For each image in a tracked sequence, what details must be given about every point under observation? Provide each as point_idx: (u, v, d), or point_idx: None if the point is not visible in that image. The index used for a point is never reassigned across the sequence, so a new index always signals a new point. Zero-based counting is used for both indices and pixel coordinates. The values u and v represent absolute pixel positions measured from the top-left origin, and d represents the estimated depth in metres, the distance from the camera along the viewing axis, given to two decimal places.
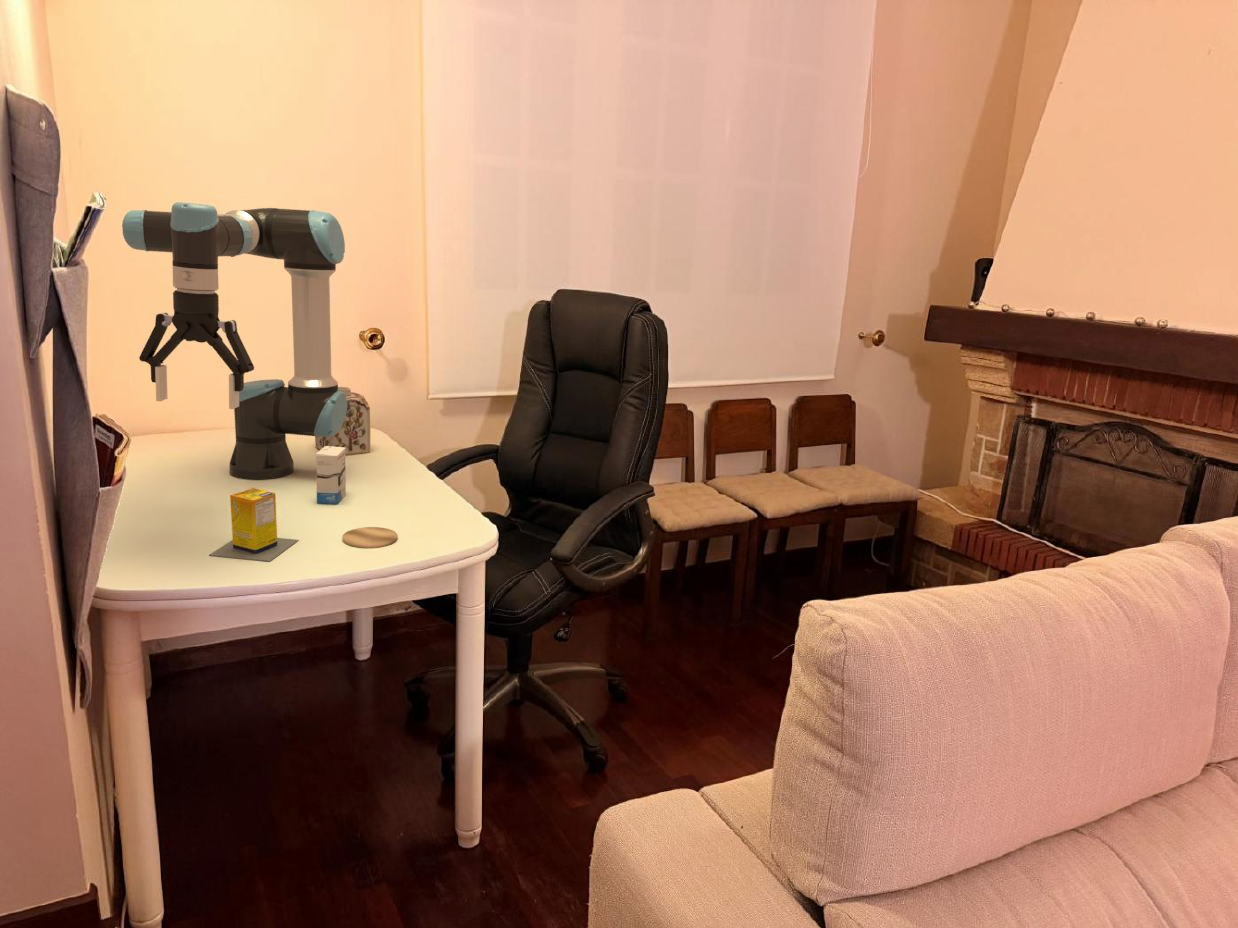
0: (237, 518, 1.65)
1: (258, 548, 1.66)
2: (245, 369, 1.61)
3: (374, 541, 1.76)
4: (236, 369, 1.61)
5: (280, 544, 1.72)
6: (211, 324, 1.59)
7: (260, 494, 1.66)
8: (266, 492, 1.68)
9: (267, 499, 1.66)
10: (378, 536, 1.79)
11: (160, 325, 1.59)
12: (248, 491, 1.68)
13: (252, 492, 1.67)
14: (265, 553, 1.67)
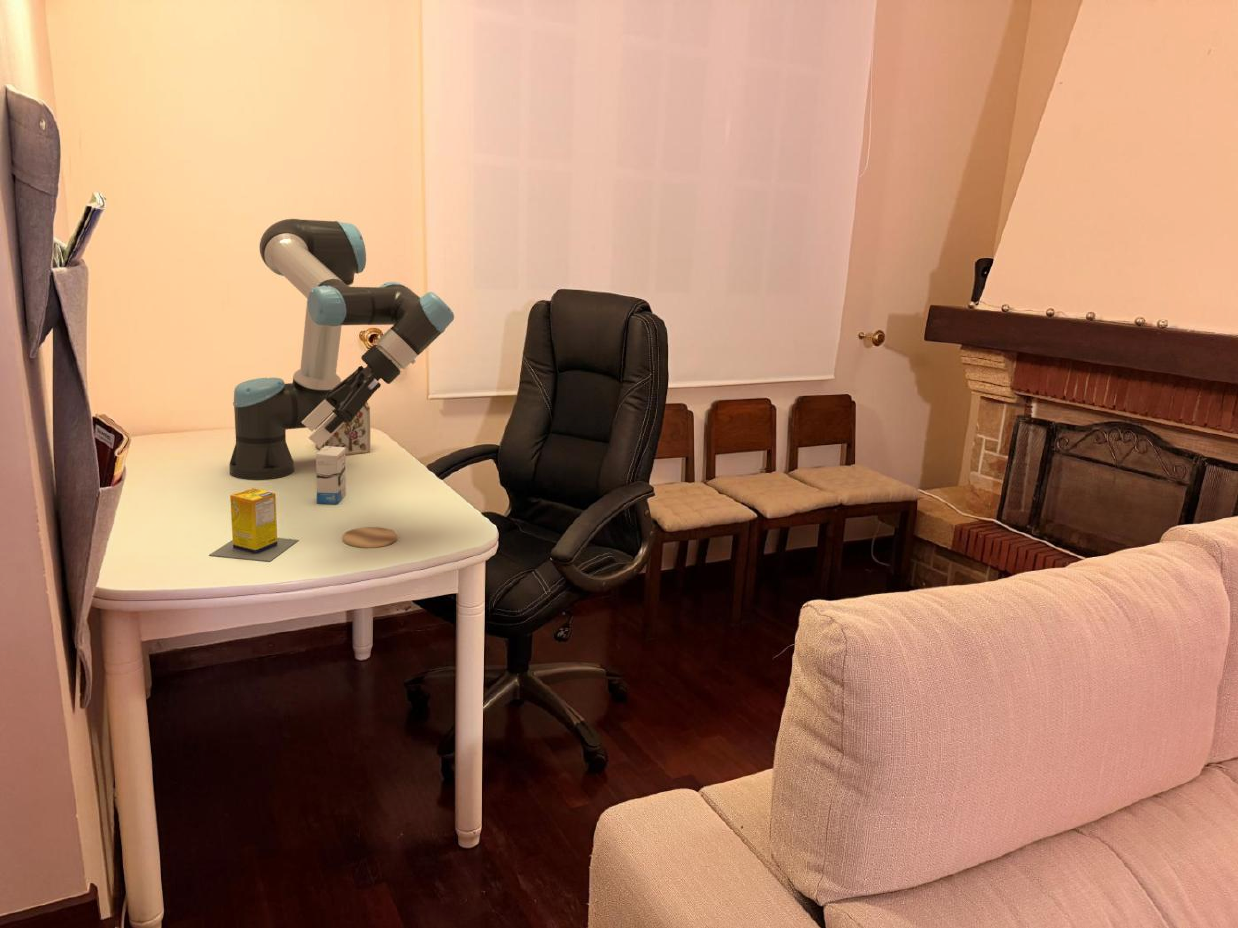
0: (237, 518, 1.65)
1: (258, 548, 1.66)
2: None
3: (374, 541, 1.76)
4: None
5: (280, 544, 1.72)
6: None
7: (260, 494, 1.66)
8: (266, 492, 1.68)
9: (267, 499, 1.66)
10: (378, 536, 1.79)
11: None
12: (248, 491, 1.68)
13: (252, 492, 1.67)
14: (265, 553, 1.67)
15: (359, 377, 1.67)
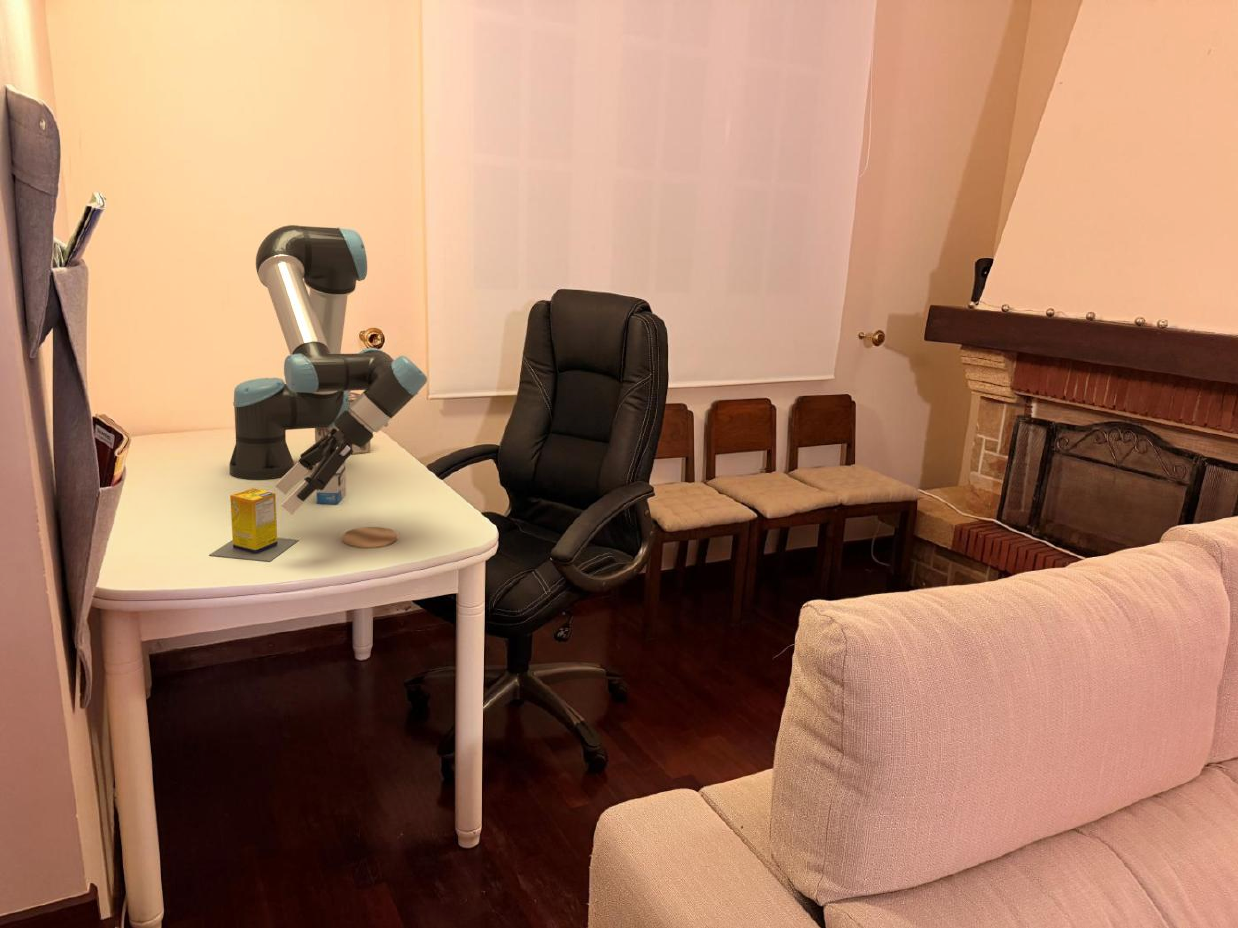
0: (237, 518, 1.65)
1: (258, 548, 1.66)
2: None
3: (374, 541, 1.76)
4: None
5: (280, 544, 1.72)
6: None
7: (260, 494, 1.66)
8: (266, 492, 1.68)
9: (267, 499, 1.66)
10: (378, 536, 1.79)
11: None
12: (248, 491, 1.68)
13: (252, 492, 1.67)
14: (265, 553, 1.67)
15: (331, 442, 1.67)
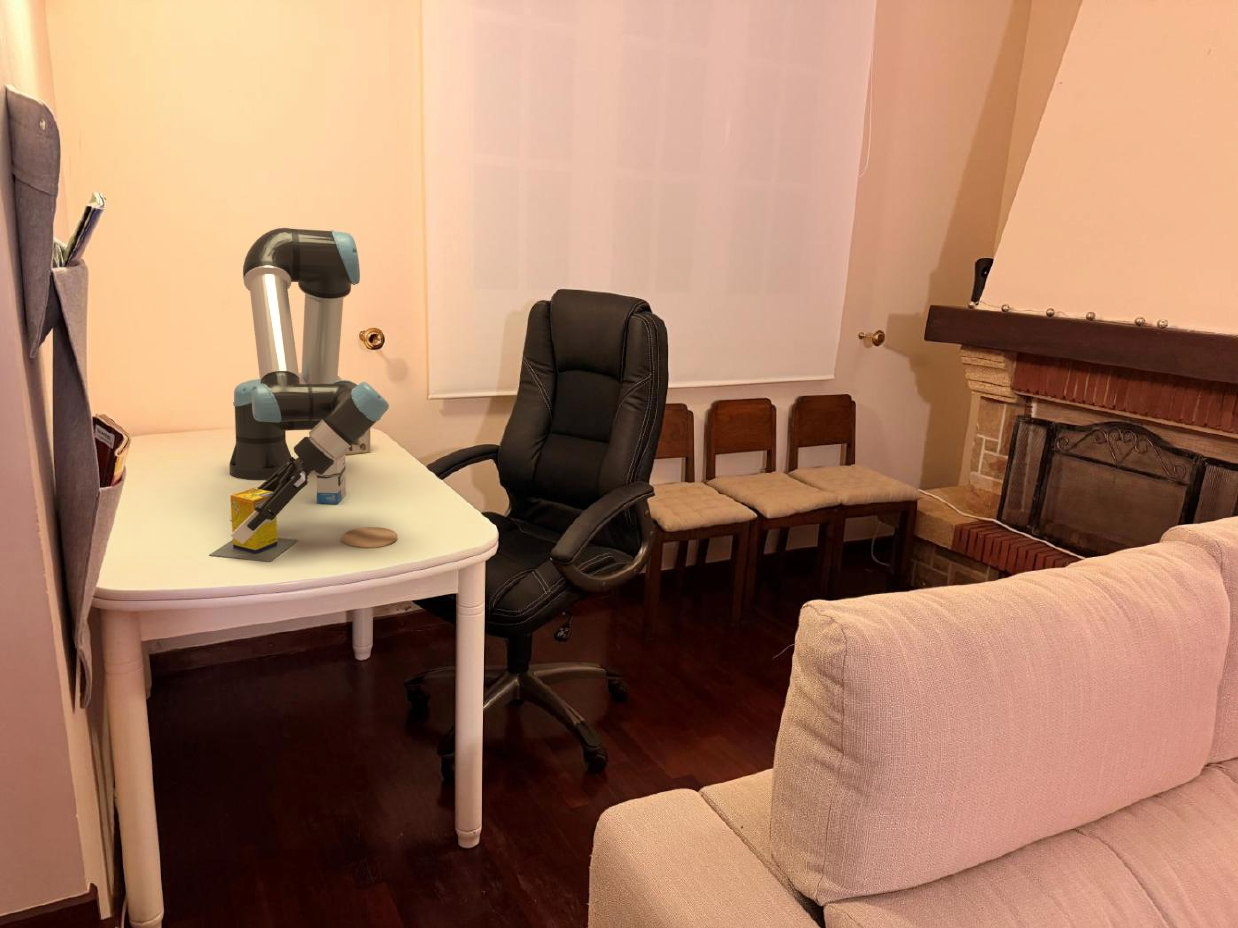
0: (237, 518, 1.65)
1: (258, 548, 1.66)
2: None
3: (374, 541, 1.76)
4: None
5: (280, 544, 1.72)
6: None
7: (260, 494, 1.66)
8: (266, 492, 1.68)
9: None
10: (378, 536, 1.79)
11: None
12: (248, 491, 1.68)
13: (252, 492, 1.67)
14: (265, 553, 1.67)
15: (289, 470, 1.66)
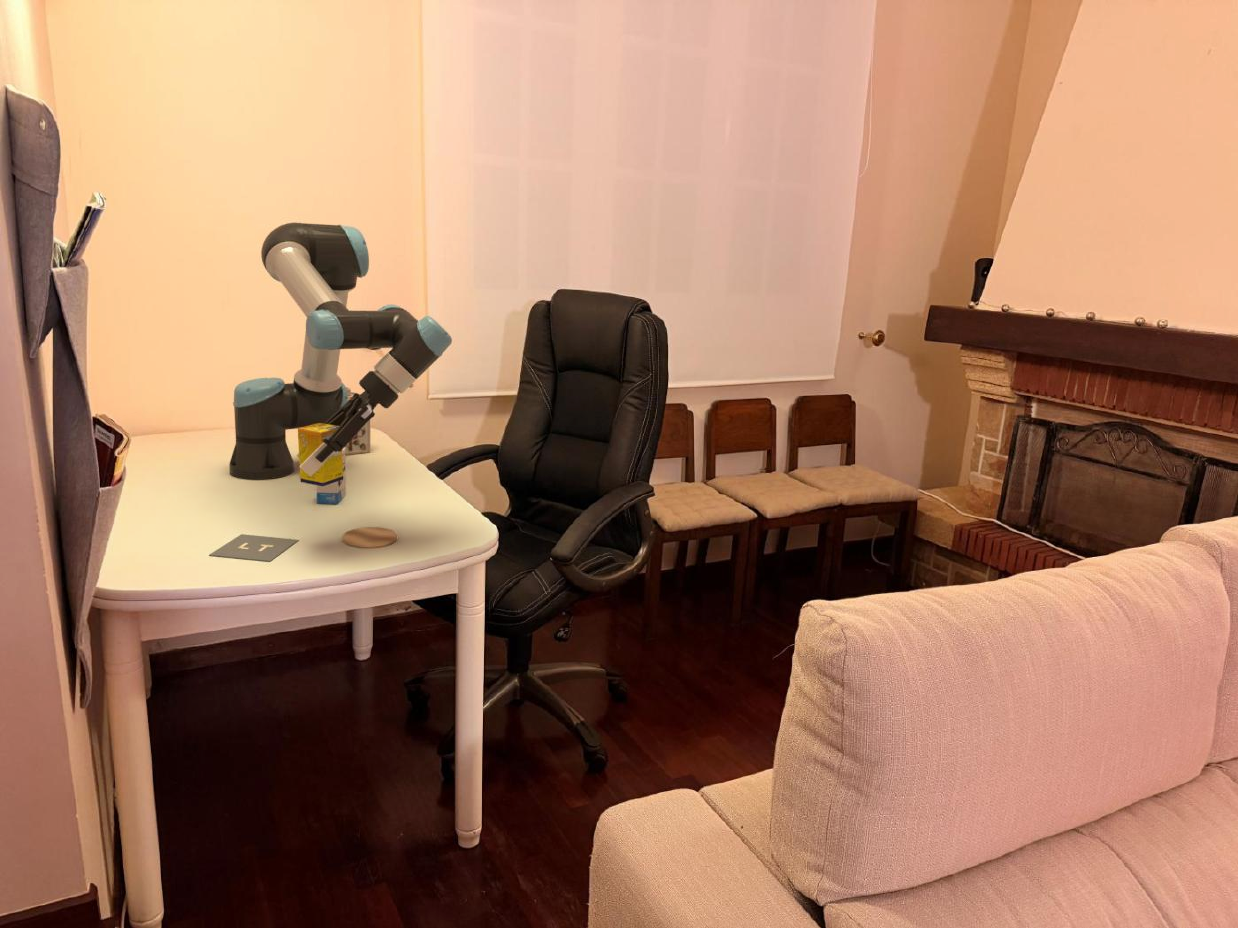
0: (305, 451, 1.66)
1: (325, 481, 1.67)
2: None
3: (374, 541, 1.76)
4: None
5: (280, 544, 1.72)
6: None
7: (327, 428, 1.67)
8: (332, 426, 1.69)
9: None
10: (378, 536, 1.79)
11: None
12: (315, 425, 1.69)
13: (318, 426, 1.68)
14: (265, 553, 1.67)
15: (356, 403, 1.67)
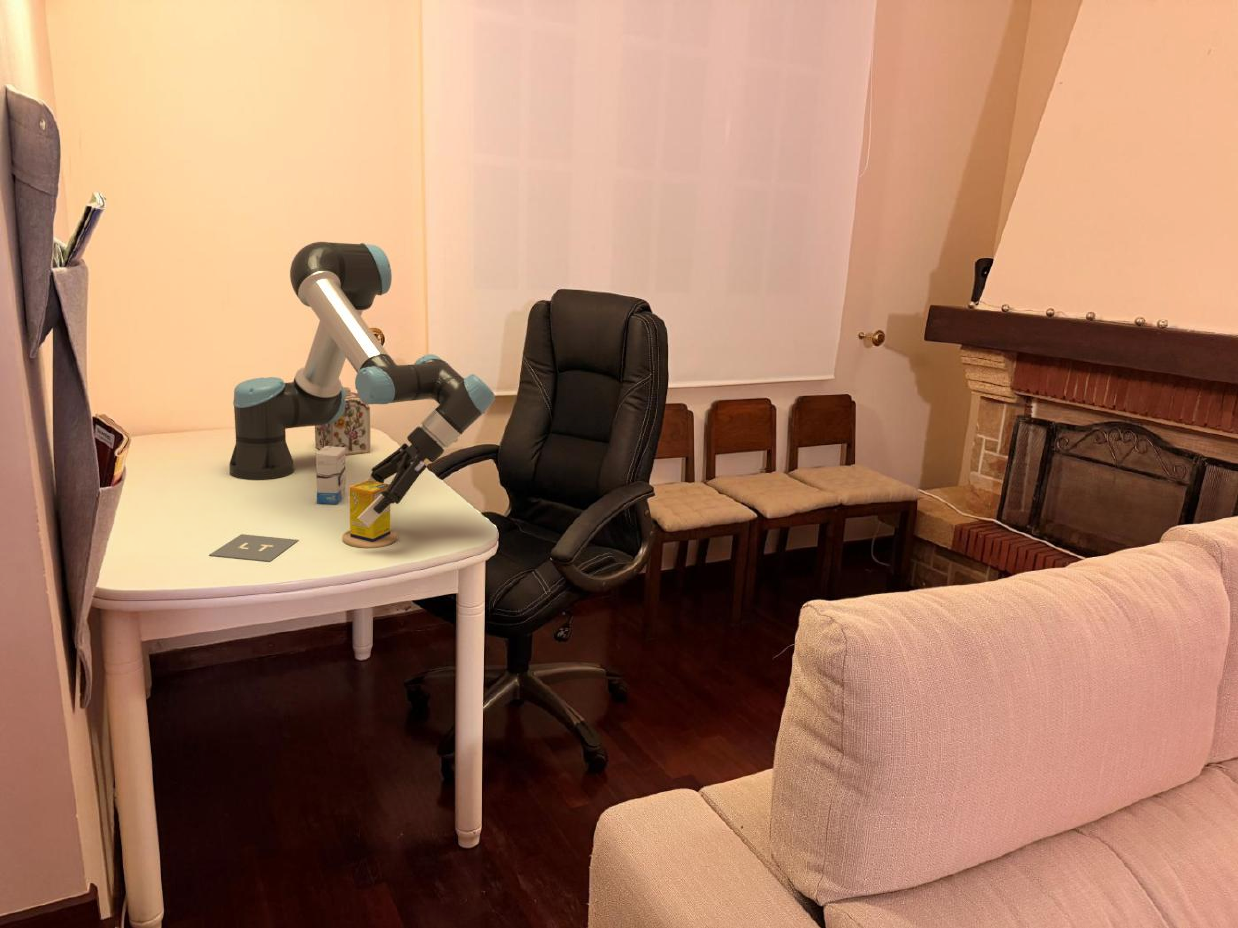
0: (356, 508, 1.75)
1: (375, 537, 1.75)
2: None
3: (374, 541, 1.76)
4: None
5: (280, 544, 1.72)
6: None
7: (377, 486, 1.75)
8: (381, 484, 1.77)
9: None
10: None
11: None
12: (365, 483, 1.77)
13: (368, 483, 1.77)
14: (265, 553, 1.67)
15: (405, 457, 1.75)
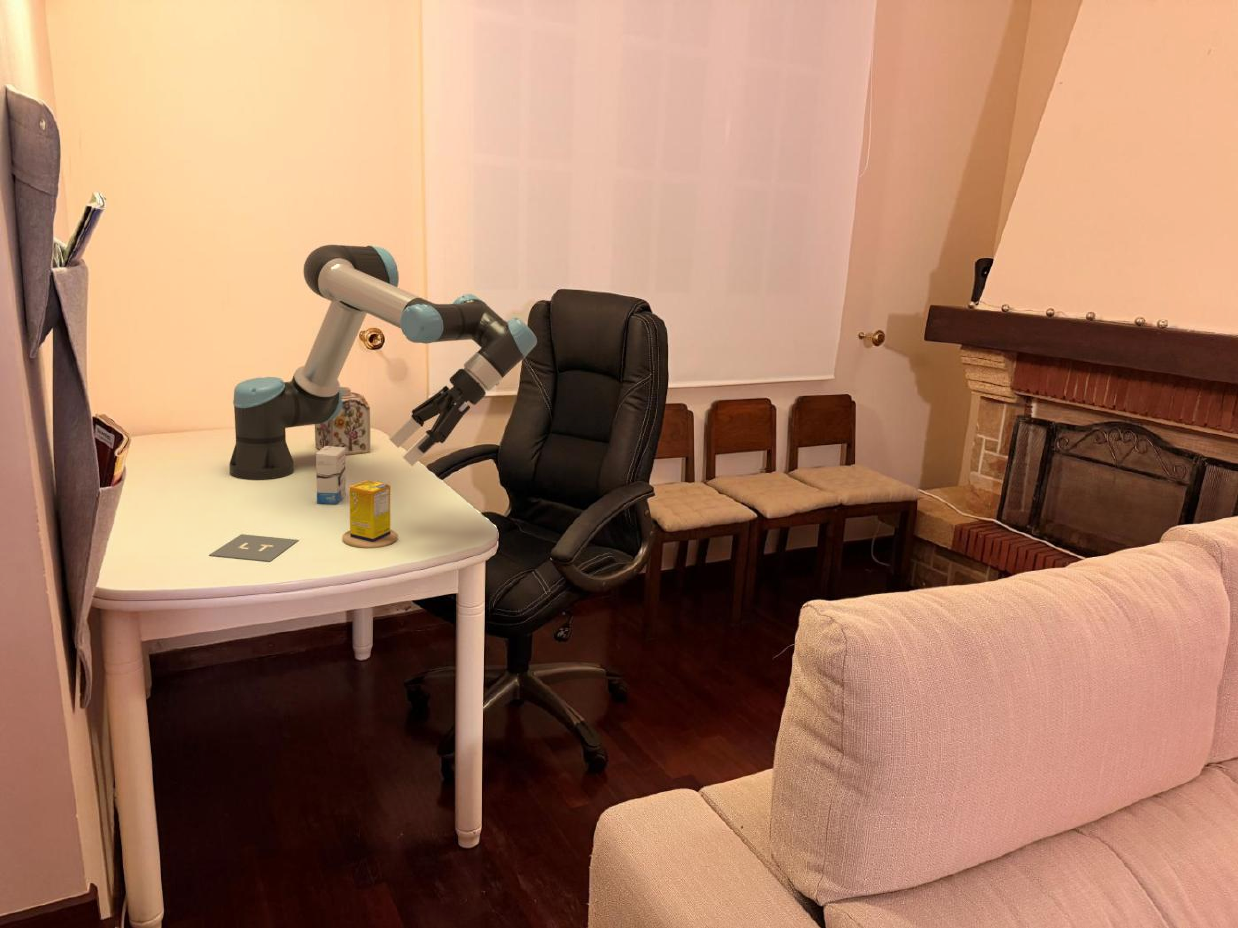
0: (356, 508, 1.75)
1: (375, 537, 1.75)
2: None
3: (374, 541, 1.76)
4: None
5: (280, 544, 1.72)
6: None
7: (377, 486, 1.75)
8: (381, 484, 1.77)
9: (384, 491, 1.76)
10: None
11: None
12: (365, 483, 1.77)
13: (368, 483, 1.77)
14: (265, 553, 1.67)
15: (448, 399, 1.75)
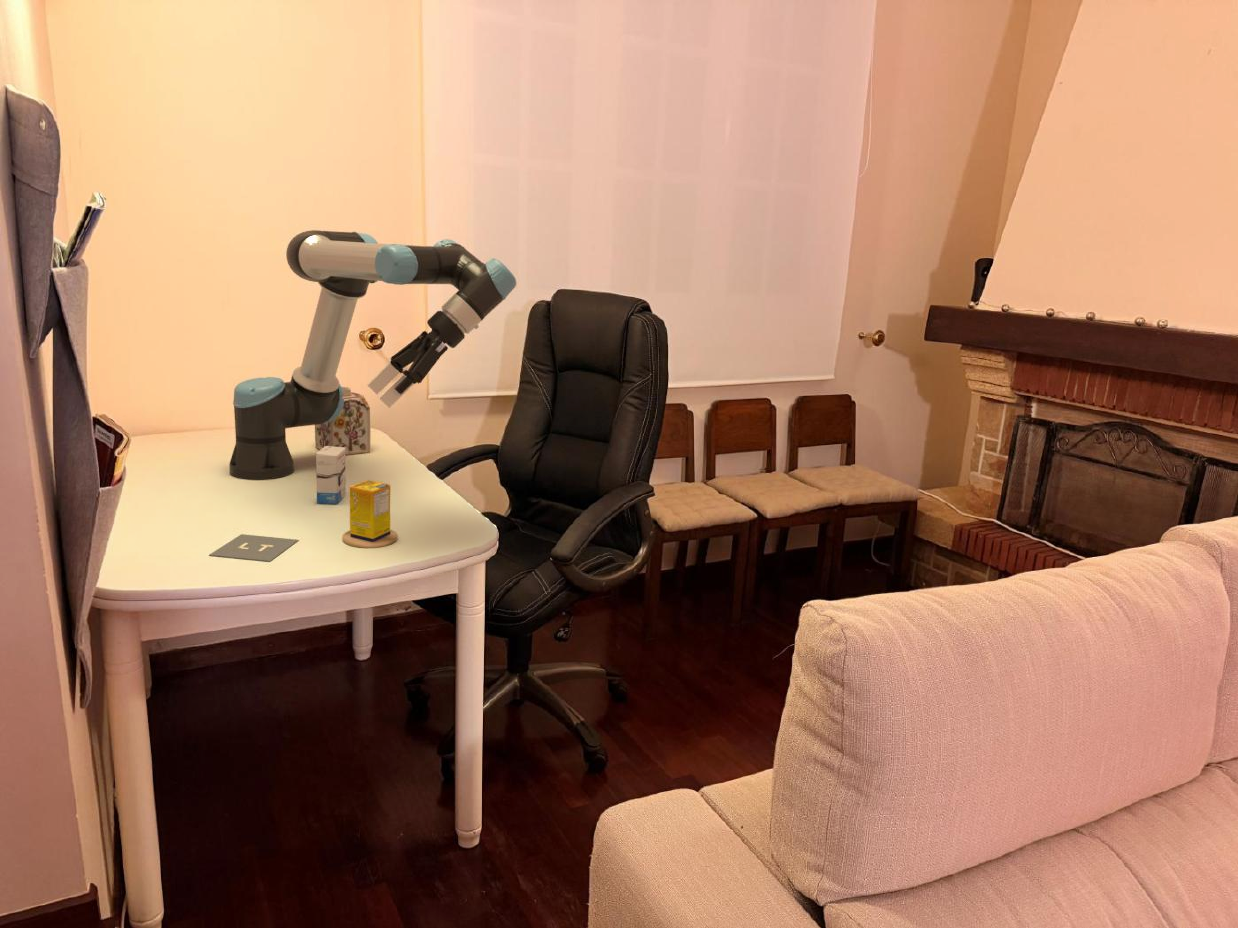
0: (356, 508, 1.75)
1: (375, 537, 1.75)
2: None
3: (374, 541, 1.76)
4: None
5: (280, 544, 1.72)
6: None
7: (377, 486, 1.75)
8: (381, 484, 1.77)
9: (384, 491, 1.76)
10: None
11: None
12: (365, 483, 1.77)
13: (368, 483, 1.77)
14: (265, 553, 1.67)
15: (426, 340, 1.72)
